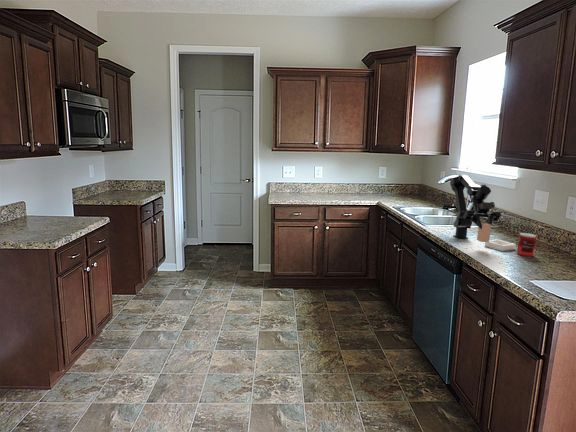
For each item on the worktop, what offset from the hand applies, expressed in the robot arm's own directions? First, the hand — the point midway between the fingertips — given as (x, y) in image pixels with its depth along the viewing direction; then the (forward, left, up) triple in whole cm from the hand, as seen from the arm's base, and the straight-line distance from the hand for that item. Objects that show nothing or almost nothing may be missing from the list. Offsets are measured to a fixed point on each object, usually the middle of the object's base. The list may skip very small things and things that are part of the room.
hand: (485, 228), depth 224 cm
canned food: (+10, +18, -12) cm, 24 cm away
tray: (-4, +14, -12) cm, 19 cm away
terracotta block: (-1, 0, -7) cm, 7 cm away
